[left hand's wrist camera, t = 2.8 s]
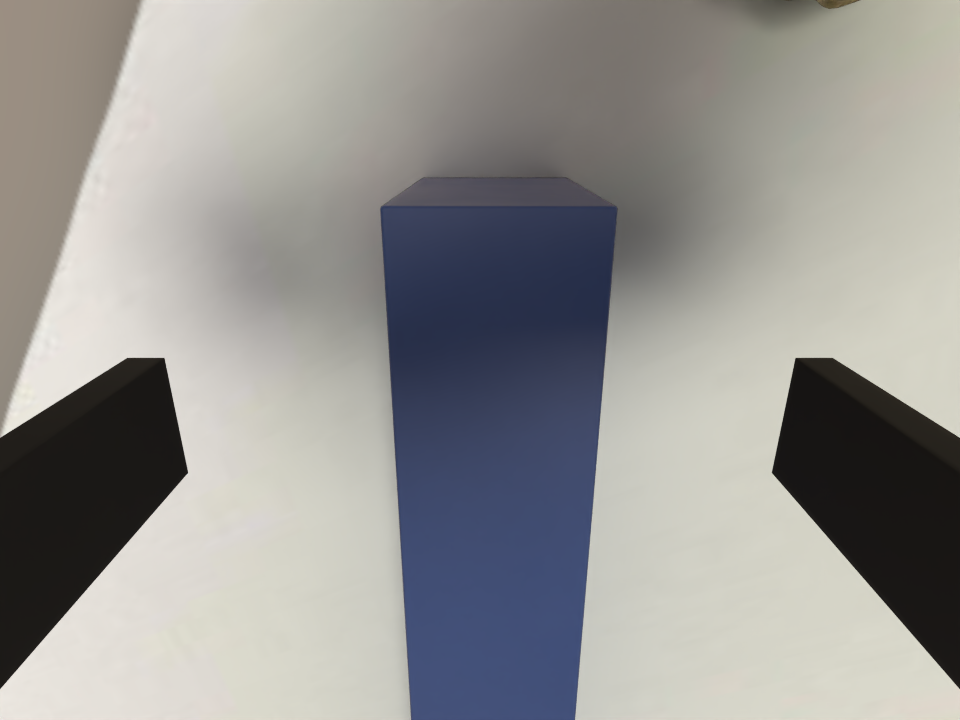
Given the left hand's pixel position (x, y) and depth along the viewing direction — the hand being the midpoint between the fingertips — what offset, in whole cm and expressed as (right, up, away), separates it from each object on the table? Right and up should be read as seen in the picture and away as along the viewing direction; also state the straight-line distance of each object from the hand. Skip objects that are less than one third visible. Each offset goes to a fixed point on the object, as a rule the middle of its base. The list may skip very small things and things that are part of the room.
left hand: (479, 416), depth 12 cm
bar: (0, -8, +15) cm, 17 cm away
